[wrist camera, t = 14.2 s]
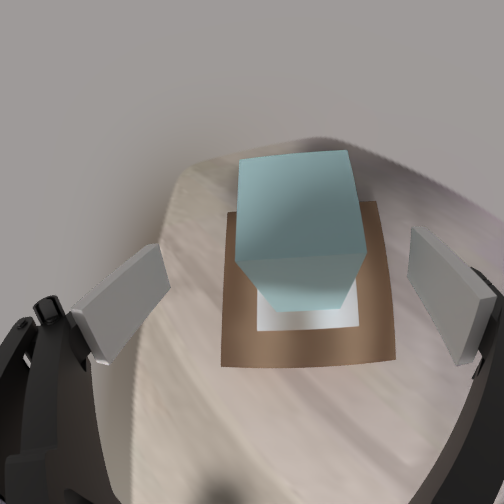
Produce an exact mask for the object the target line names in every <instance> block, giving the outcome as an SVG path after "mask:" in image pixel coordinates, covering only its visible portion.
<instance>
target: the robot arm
mask: <svg viewBox="0 0 504 504" xmlns="http://www.w3.org/2000/svg"><path fill="white" fill-rule="evenodd" d="M407 278H408V279H409V281H410V282H411V284H412V286H413V287H414V289H415V291H416V292H417V294H418V296H419V297H420V299H421V301H422V302H423V304H424V306H425V307H426V309H427V311H428V313H429V314H430V316H431V318H432V320H433V322H434V324H435V325H436V327H437V329H438V331H439V333H440V335H441V337H442V339H443V341H444V343H445V344H446V346H447V348H448V350H449V353H450V355H451V357H452V359H453V361H454V363H455V365H456V366H460V365H464V364H468V363H472V362H473V360H474V358H475V356H476V353H477V351H478V349H479V351H480V353H481V355H482V359H481V361H480V363H479V365H478V367H477V369H476V371H475V373H474V375H473V377H472V379H474V381H473V383H472V386H471V389H470V392H469V394H468V397H467V399H466V402H465V404H464V407H463V409H462V411H461V414H460V416H459V418H458V421H457V423H456V425H455V427H454V429H453V431H452V433H451V435H450V437H449V439H448V441H447V443H446V445H445V447H444V449H443V450H442V452H441V454H440V456H439V458H438V459H437V461H436V463H435V465H434V466H433V468H432V469H431V471H430V473H429V474H428V476H427V477H426V479H425V481H424V482H423V484H422V485H421V487H420V488H419V489H418V491H417V492H416V494H415V495H414V497H413V498H412V499H411V501H410V502H409V503H408V504H493V503H494V501H495V499H496V497H497V494H498V492H499V490H500V488H501V485H502V483H503V480H504V296H503V295H502V294H501V293H500V292H499V291H498V290H497V288H496V287H495V286H494V285H492V283H491V282H490V281H489V280H487V278H486V277H485V276H484V275H483V274H482V273H481V272H479V271H478V270H476V269H474V268H472V267H469V266H468V265H467V264H466V263H465V262H464V261H463V260H462V259H461V258H460V257H459V256H458V255H457V254H456V253H455V252H453V251H452V250H451V249H450V248H449V247H448V246H447V245H446V244H445V243H444V242H442V241H441V240H440V239H439V238H438V237H437V236H436V235H435V234H433V233H432V232H431V231H430V230H429V229H428V228H426V227H425V226H415V227H411V243H410V255H409V265H408V274H407ZM170 288H171V287H170V283H169V280H168V276H167V273H166V269H165V266H164V262H163V258H162V254H161V251H160V247H159V244H148V245H146V246H145V247H143V248H142V249H141V250H140V251H138V252H137V253H136V254H134V255H133V256H132V257H131V258H129V259H128V260H127V261H126V262H124V263H123V264H122V265H121V266H120V267H118V268H117V269H116V270H115V271H113V272H112V273H111V274H110V275H108V276H107V277H106V278H105V279H104V280H102V281H101V282H100V283H99V284H98V285H97V286H95V287H94V288H93V289H92V290H91V291H89V292H88V293H87V294H86V295H85V296H84V297H82V298H81V299H80V300H79V301H78V302H77V303H76V304H74V305H73V306H72V307H71V308H70V310H71V311H70V312H69V313H68V314H67V315H65V313H64V310H63V309H62V306H61V304H60V302H59V299H58V297H57V296H54V295H52V296H48V297H46V298H43V299H41V300H40V301H38V302H37V303H36V304H35V305H34V307H33V309H34V311H35V314H36V316H37V318H38V320H39V321H40V323H41V326H36V324H35V322H34V320H33V318H32V317H25V318H21V319H19V320H18V321H17V323H15V325H14V326H13V327H12V329H11V330H10V332H9V333H8V335H7V336H6V338H5V339H4V341H3V342H2V344H1V345H0V504H121V503H120V501H119V500H118V499H117V498H116V497H115V495H114V493H113V491H112V488H111V485H110V481H109V478H108V474H107V470H106V466H105V461H104V457H103V452H102V448H101V443H100V437H99V432H98V427H97V420H96V413H95V405H94V397H93V388H92V376H91V363H90V361H89V359H88V357H87V356H88V355H89V354H90V352H92V354H93V356H94V358H95V359H96V361H97V362H98V363H102V364H106V365H110V364H111V363H112V361H113V360H114V359H115V358H116V356H117V355H118V353H119V352H120V351H121V350H122V348H123V347H124V346H125V344H126V343H127V342H128V341H129V339H130V338H131V337H132V335H133V334H134V333H135V331H136V330H137V329H138V328H139V327H140V325H141V324H142V323H143V322H144V320H145V319H146V318H147V316H148V315H149V314H150V313H151V311H152V310H153V309H154V308H155V307H156V305H157V304H158V303H159V302H160V300H161V299H162V298H163V297H164V295H165V294H166V293H167V292H168V291H169V289H170ZM24 354H26V356H27V358H28V359H29V361H30V362H31V366H30V368H29V367H28V366H27V364H26V362H25V361H24V359H23V356H24Z"/></svg>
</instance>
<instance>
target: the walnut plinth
mask: <svg viewBox="0 0 504 504" xmlns="http://www.w3.org/2000/svg"><path fill="white" fill-rule="evenodd" d="M359 206H360V211H361V217H362V223H363V229H364V235H365V241H366V248H367V254H366V256H365V259H364V261H363V263H362V265H361V267H360V269H359V272H358V274H357V276H356V278H355V280H354V282H353V284H352V286H351V288H350V290H349V292H348V294H347V296H346V298H345V300H344V302H343V304H342V306H341V308H340V309H329V310H312V311H292V312H276V311H275V310H274V308H273V307H272V306H271V305H270V304H269V302H268V301H267V300H266V299H265V298H264V296H263V295H262V294H261V293H260V291H259V290H258V289H257V288H256V287H255V285H254V284H253V283H252V282H251V280H250V279H249V278H248V277H247V276H246V274H245V273H244V272H243V271H242V269H241V268H240V267H239V266H238V265H237V263H236V262H235V245H236V222H237V212H228V214H227V230H226V247H225V266H224V287H223V311H222V340H221V367H241V368H305V367H327V366H341V365H353V364H364V363H373V362H382V361H389V360H396V352H395V330H394V316H393V304H392V294H391V285H390V277H389V270H388V263H387V256H386V250H385V244H384V238H383V233H382V227H381V222H380V217H379V212H378V208H377V203H376V201H368V202H359Z"/></svg>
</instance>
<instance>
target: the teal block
mask: <svg viewBox="0 0 504 504" xmlns="http://www.w3.org/2000/svg"><path fill="white" fill-rule="evenodd" d="M366 254H367V248H366V241H365V235H364V229H363V223H362V217H361V211H360V206H359V201H358V196H357V191H356V186H355V181H354V177H353V172H352V168H351V164H350V160H349V156H348V152H347V150H336V151H319V152H306V153H294V154H284V155H274V156H265V157H257V158H249V159H242V160H240V162H239V181H238V201H237V222H236V245H235V262H236V263H237V265H238V266H239V267H240V268H241V269H242V271H243V272H244V273H245V274H246V276H247V277H248V278H249V279H250V280H251V282H252V283H253V284H254V285H255V287H256V288H257V289H258V290H259V291H260V293H261V294H262V295H263V296H264V298H265V299H266V300H267V301H268V302H269V304H270V305H271V306H272V307H273V308H274V310H275V311H276V312H292V311H312V310H329V309H340V308H341V306H342V304H343V302H344V300H345V298H346V296H347V294H348V292H349V290H350V288H351V286H352V284H353V282H354V280H355V278H356V276H357V274H358V272H359V269H360V267H361V265H362V263H363V261H364V259H365V256H366Z"/></svg>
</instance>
